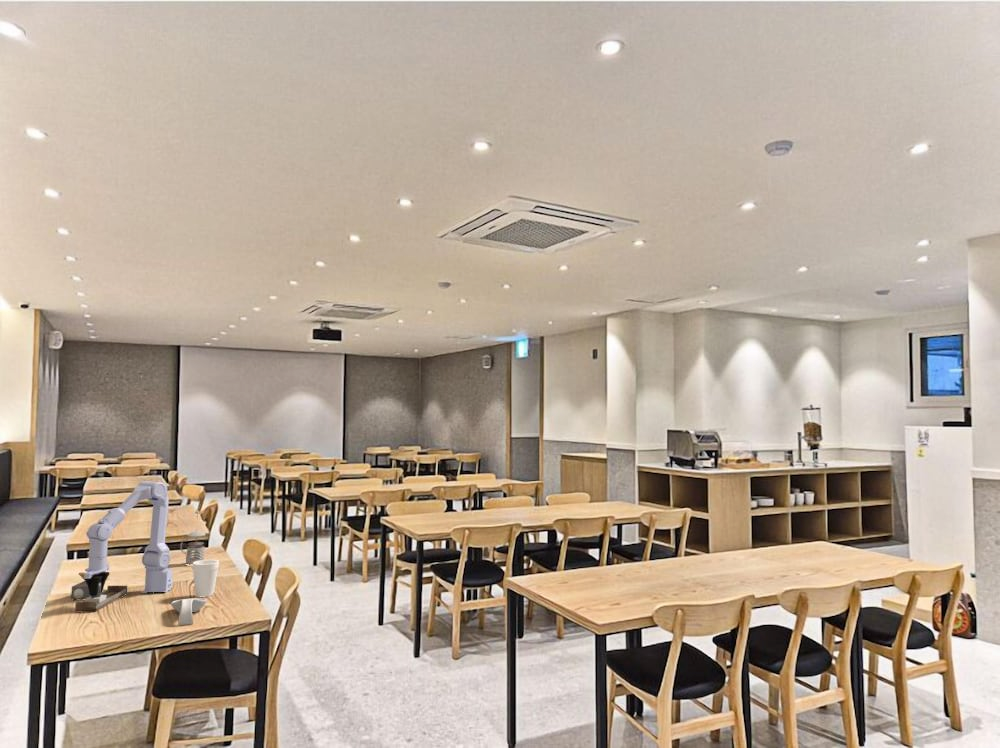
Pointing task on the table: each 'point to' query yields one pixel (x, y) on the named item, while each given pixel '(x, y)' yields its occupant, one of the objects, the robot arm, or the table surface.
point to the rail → (111, 595)
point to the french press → (192, 546)
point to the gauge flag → (81, 575)
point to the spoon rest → (187, 609)
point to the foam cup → (205, 576)
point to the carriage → (97, 596)
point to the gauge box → (80, 591)
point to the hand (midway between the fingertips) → (96, 594)
